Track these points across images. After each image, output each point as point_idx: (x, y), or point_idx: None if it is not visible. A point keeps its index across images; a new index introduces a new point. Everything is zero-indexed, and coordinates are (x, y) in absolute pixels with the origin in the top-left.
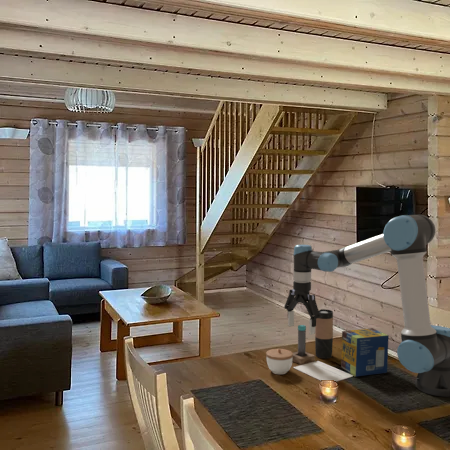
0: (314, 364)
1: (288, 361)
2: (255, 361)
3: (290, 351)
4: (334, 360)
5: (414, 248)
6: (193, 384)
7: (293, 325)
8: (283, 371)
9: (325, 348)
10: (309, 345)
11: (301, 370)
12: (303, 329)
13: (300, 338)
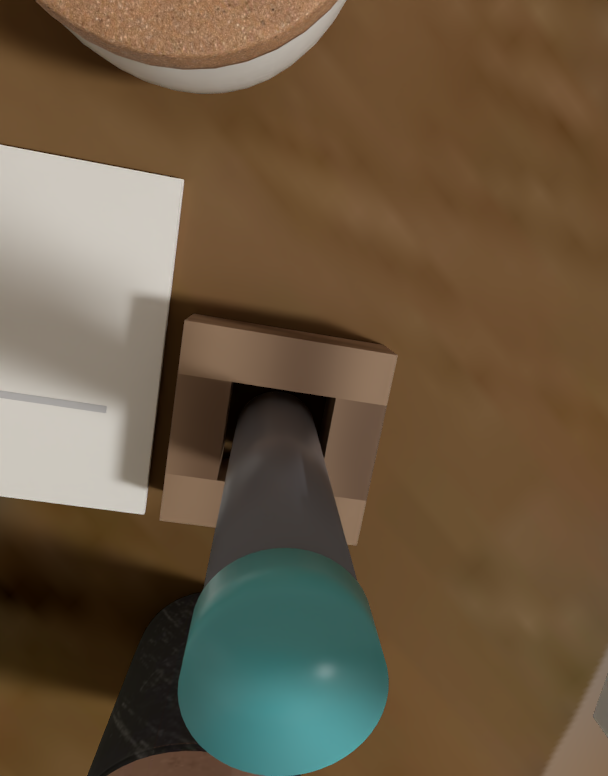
0: (94, 407)
1: None
2: (603, 22)
3: (94, 10)
4: (69, 635)
5: None
6: None
7: (599, 710)
8: None
9: (128, 686)
10: (475, 757)
11: (57, 169)
12: (196, 612)
13: (256, 480)
